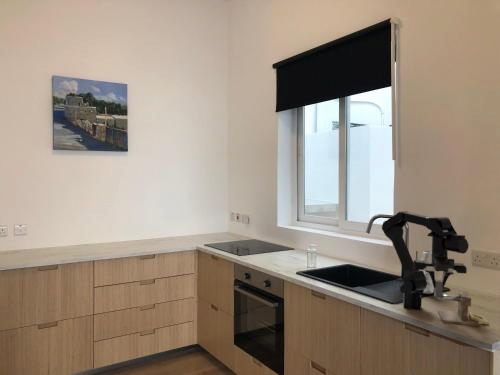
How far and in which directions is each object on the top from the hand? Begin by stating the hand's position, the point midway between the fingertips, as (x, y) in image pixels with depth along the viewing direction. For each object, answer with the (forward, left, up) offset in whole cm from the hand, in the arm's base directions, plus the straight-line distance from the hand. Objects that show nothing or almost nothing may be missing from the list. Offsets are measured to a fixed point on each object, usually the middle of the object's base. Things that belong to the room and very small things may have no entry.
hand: (438, 288), depth 162 cm
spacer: (+11, 0, -10) cm, 15 cm away
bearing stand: (+7, 0, -12) cm, 14 cm away
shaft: (+4, 0, -5) cm, 6 cm away
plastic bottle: (-1, +33, -12) cm, 35 cm away
